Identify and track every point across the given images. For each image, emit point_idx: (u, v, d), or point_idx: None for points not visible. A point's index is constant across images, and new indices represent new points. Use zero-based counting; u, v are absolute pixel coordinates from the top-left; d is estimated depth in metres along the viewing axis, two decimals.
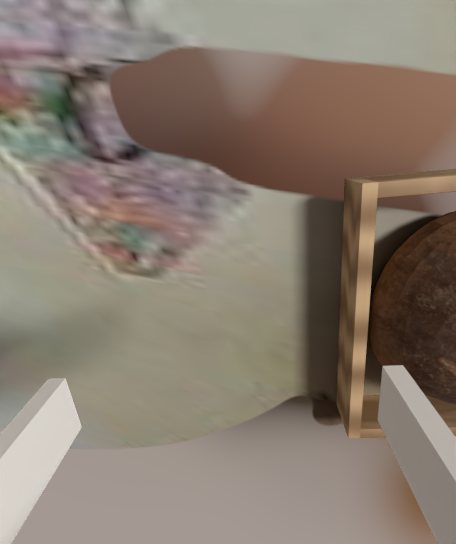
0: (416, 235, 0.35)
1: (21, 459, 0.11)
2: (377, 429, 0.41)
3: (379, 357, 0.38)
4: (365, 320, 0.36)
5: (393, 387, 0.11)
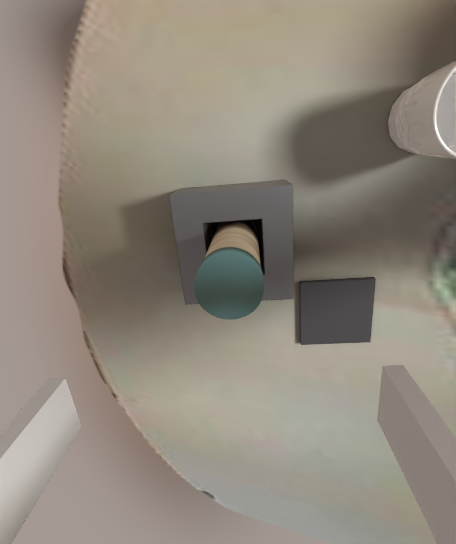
0: None
1: (21, 459, 0.11)
2: None
3: None
4: None
5: (393, 386, 0.11)
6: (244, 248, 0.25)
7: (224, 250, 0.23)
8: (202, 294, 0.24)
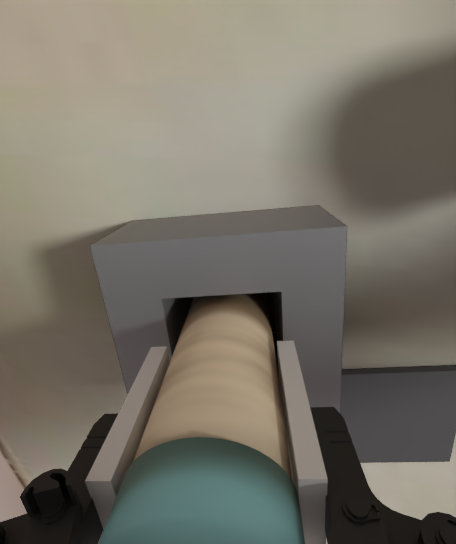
0: None
1: (150, 410, 0.12)
2: None
3: None
4: None
5: (279, 357, 0.14)
6: (247, 424, 0.09)
7: (186, 471, 0.07)
8: None
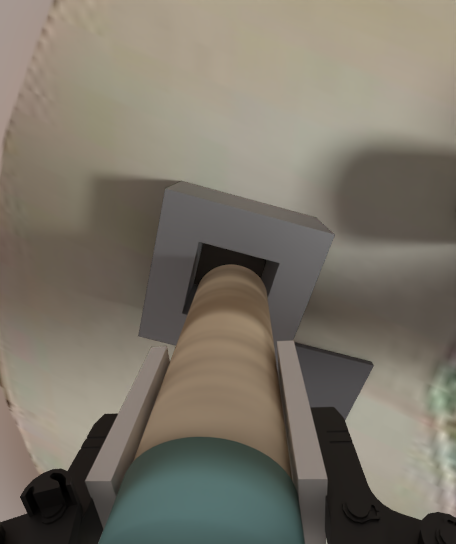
0: None
1: (150, 410, 0.12)
2: None
3: None
4: None
5: (279, 357, 0.14)
6: (247, 423, 0.09)
7: (186, 470, 0.07)
8: None
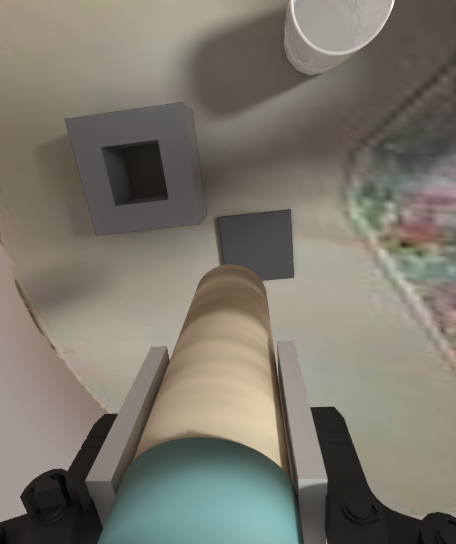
0: None
1: (150, 410, 0.12)
2: None
3: None
4: None
5: (279, 357, 0.14)
6: (246, 423, 0.09)
7: (184, 471, 0.07)
8: None
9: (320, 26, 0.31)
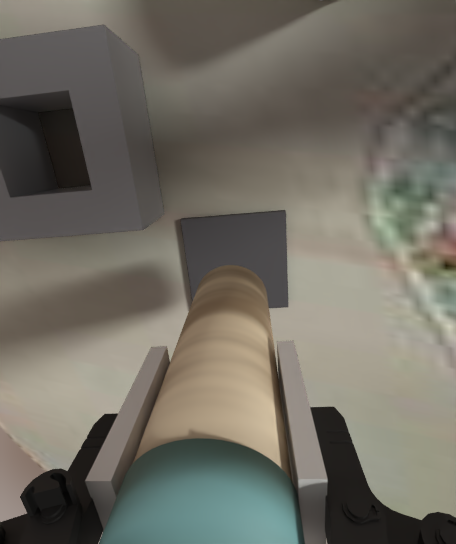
0: None
1: (150, 410, 0.12)
2: None
3: None
4: None
5: (279, 357, 0.14)
6: (247, 425, 0.09)
7: (186, 472, 0.07)
8: None
9: None
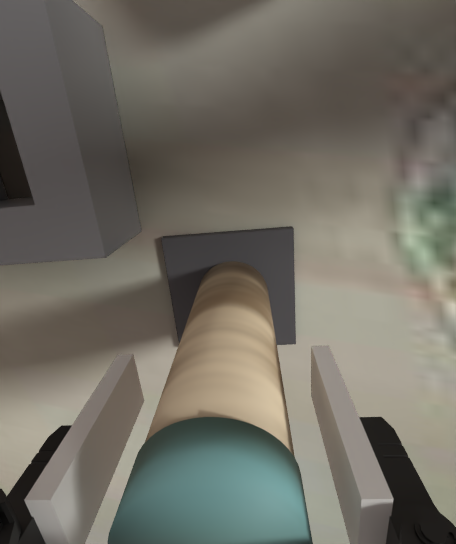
0: None
1: (109, 421, 0.12)
2: None
3: None
4: None
5: (315, 363, 0.13)
6: (252, 406, 0.10)
7: (197, 446, 0.08)
8: None
9: None
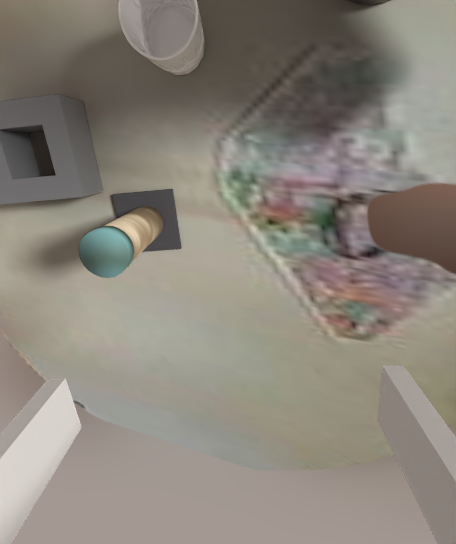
0: None
1: (21, 459, 0.11)
2: None
3: None
4: None
5: (392, 386, 0.11)
6: (121, 227, 0.35)
7: (100, 227, 0.33)
8: (85, 259, 0.33)
9: (176, 35, 0.38)
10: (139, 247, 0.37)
